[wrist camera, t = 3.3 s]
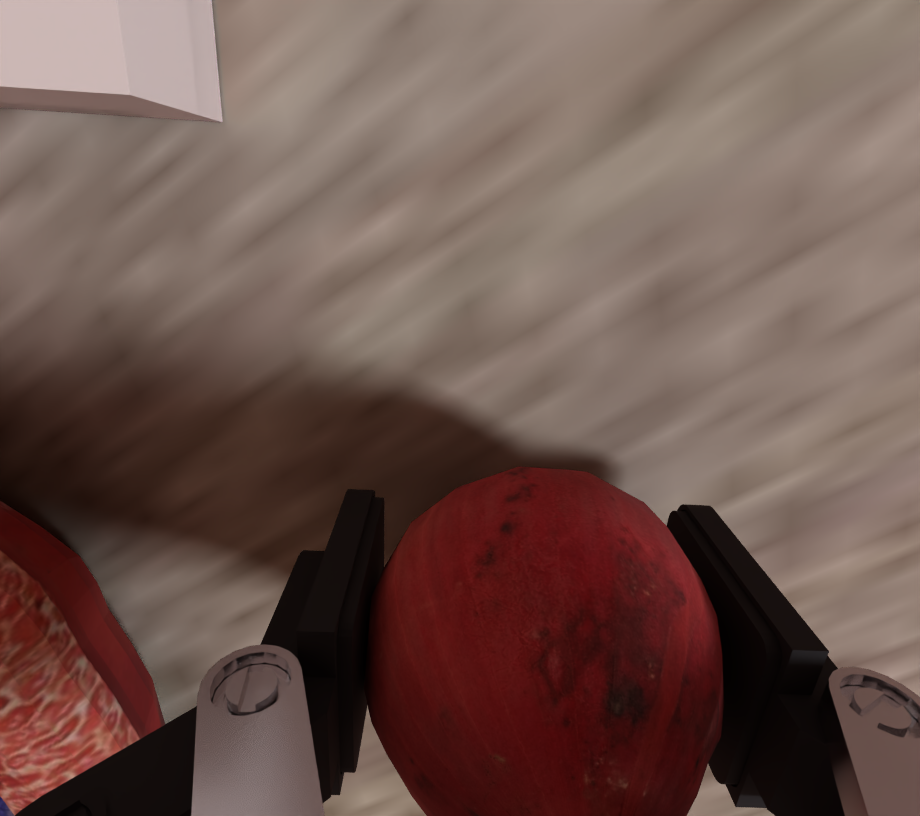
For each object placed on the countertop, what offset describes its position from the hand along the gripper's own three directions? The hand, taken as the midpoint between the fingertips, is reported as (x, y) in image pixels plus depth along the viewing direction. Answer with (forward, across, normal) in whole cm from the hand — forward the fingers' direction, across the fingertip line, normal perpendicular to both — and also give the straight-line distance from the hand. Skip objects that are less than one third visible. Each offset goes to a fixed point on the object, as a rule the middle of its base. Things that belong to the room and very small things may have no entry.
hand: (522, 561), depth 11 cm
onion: (+2, 0, 0) cm, 2 cm away
